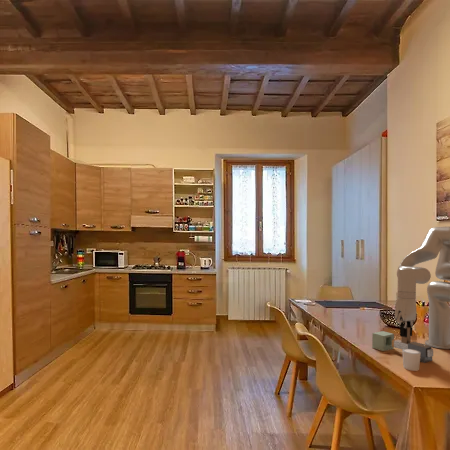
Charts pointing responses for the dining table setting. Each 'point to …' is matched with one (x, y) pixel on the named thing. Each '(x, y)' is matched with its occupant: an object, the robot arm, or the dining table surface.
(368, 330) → the dining table surface
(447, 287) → the robot arm
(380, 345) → the socket block
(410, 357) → the shot glass
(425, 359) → the sleeve
